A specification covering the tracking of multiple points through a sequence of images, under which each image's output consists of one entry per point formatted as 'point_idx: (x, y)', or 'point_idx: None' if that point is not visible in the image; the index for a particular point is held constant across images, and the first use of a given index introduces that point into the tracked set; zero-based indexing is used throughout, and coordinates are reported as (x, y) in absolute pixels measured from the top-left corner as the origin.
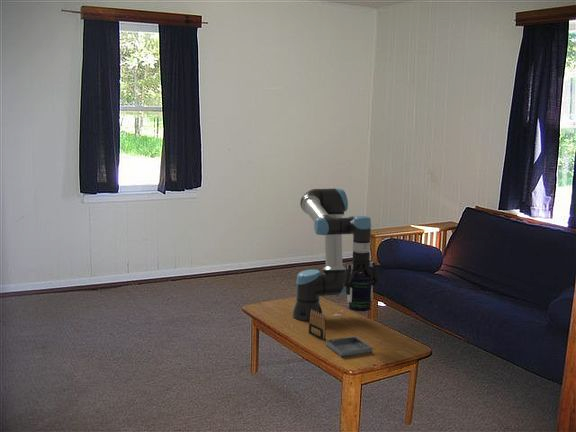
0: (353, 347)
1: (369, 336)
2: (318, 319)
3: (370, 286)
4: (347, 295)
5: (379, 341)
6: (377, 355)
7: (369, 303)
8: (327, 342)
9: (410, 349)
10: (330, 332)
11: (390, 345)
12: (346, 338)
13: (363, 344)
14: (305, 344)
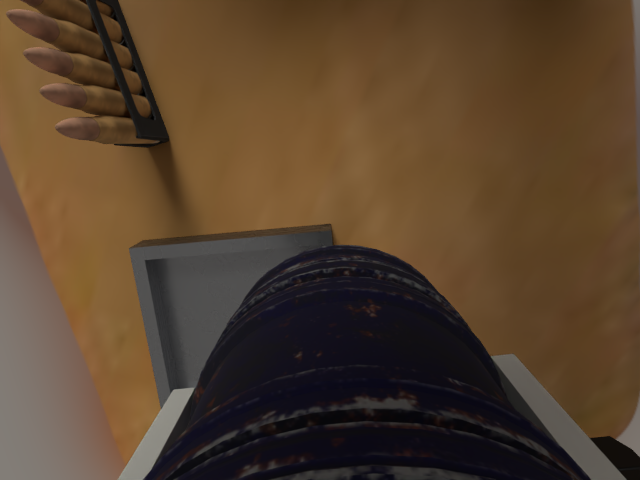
0: None
1: (449, 166)
2: (64, 76)
3: None
4: (144, 441)
5: (463, 258)
6: None
7: None
8: (135, 265)
9: (556, 401)
10: (238, 25)
11: (489, 327)
12: (261, 249)
13: None
14: (32, 191)
